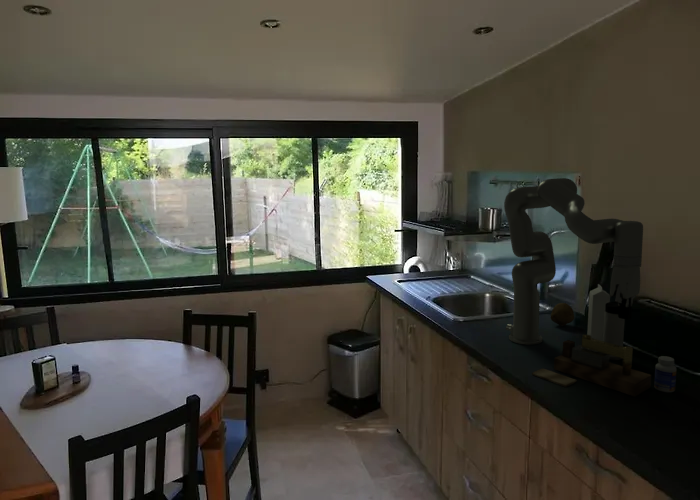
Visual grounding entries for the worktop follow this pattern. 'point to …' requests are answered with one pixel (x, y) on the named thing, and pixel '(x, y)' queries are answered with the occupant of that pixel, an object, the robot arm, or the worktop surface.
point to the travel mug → (613, 326)
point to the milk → (597, 312)
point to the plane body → (603, 373)
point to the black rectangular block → (590, 357)
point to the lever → (610, 351)
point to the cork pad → (554, 377)
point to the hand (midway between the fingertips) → (624, 318)
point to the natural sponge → (562, 314)
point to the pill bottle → (665, 374)
